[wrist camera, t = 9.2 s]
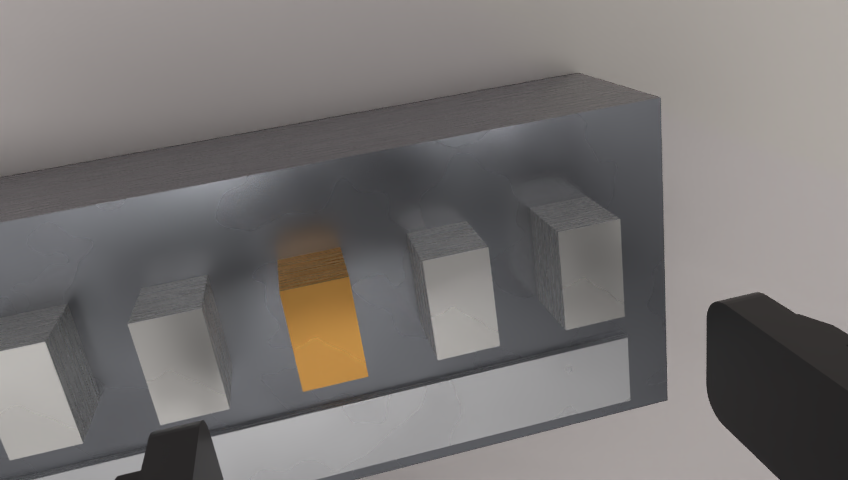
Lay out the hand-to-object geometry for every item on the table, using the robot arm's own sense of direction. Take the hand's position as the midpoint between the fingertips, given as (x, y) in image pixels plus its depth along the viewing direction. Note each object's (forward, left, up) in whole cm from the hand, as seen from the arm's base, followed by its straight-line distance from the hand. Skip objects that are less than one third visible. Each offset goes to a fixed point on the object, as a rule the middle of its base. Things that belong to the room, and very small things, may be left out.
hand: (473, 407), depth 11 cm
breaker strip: (+3, 0, -8) cm, 8 cm away
